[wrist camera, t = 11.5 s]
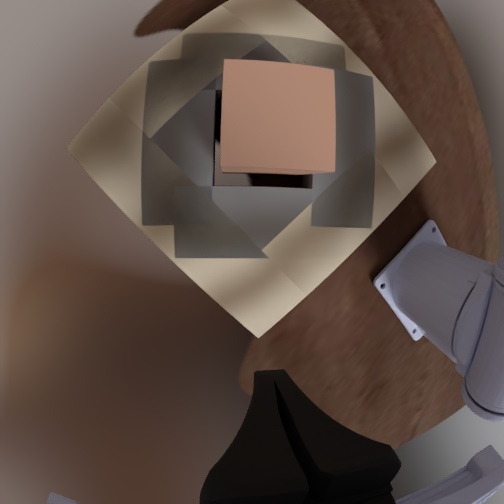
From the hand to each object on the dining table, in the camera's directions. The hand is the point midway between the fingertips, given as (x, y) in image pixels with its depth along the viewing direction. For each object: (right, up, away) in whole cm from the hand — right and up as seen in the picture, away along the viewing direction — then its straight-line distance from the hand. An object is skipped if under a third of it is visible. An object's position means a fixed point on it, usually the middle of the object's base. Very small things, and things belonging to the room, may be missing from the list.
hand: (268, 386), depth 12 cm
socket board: (0, +14, +7) cm, 15 cm away
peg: (0, +14, +7) cm, 16 cm away
